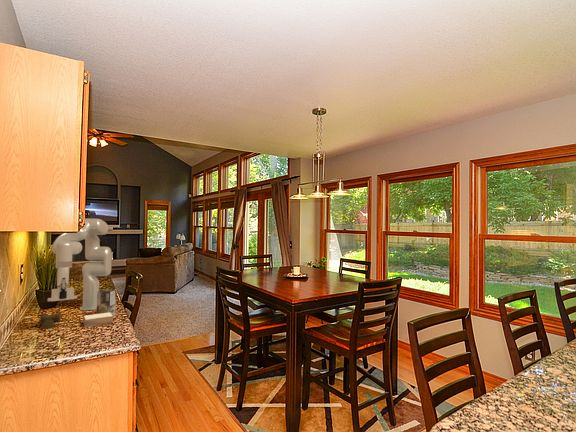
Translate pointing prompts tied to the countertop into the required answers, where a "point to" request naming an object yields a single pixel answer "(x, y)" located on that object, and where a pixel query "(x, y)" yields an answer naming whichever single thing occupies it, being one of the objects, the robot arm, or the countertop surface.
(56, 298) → the housing
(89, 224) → the robot arm
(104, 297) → the coffee box
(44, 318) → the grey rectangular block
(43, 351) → the countertop surface
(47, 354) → the countertop surface
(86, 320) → the stand
